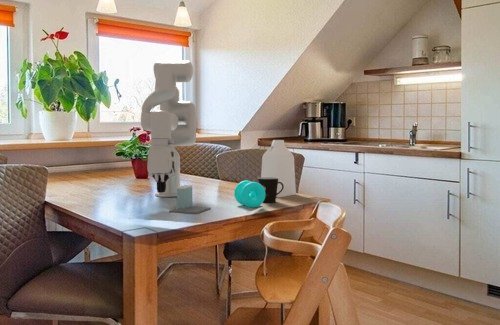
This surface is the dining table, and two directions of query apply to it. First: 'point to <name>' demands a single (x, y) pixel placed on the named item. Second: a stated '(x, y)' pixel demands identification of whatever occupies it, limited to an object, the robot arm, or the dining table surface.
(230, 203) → the dining table surface
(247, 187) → the teal spool
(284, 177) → the milk
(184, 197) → the slab
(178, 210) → the mat
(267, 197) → the coffee mug
